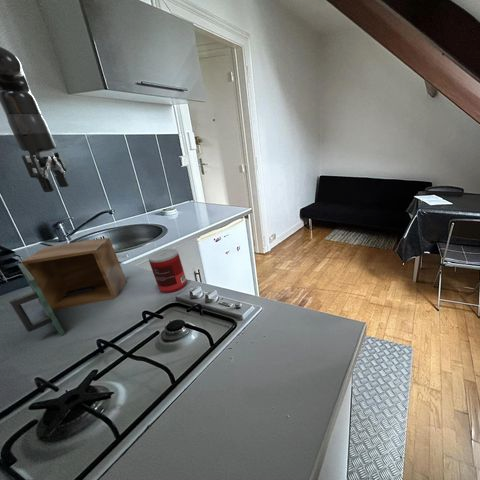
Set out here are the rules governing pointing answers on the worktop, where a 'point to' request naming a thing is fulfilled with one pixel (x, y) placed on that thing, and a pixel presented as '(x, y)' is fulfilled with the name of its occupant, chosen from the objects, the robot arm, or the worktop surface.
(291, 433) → the worktop surface
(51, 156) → the robot arm
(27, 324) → the cupboard door
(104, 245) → the cupboard
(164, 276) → the canned food
